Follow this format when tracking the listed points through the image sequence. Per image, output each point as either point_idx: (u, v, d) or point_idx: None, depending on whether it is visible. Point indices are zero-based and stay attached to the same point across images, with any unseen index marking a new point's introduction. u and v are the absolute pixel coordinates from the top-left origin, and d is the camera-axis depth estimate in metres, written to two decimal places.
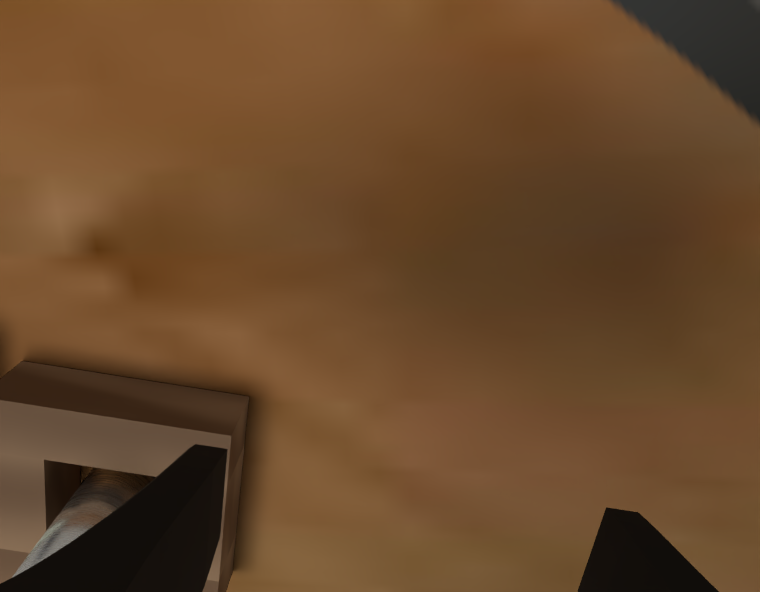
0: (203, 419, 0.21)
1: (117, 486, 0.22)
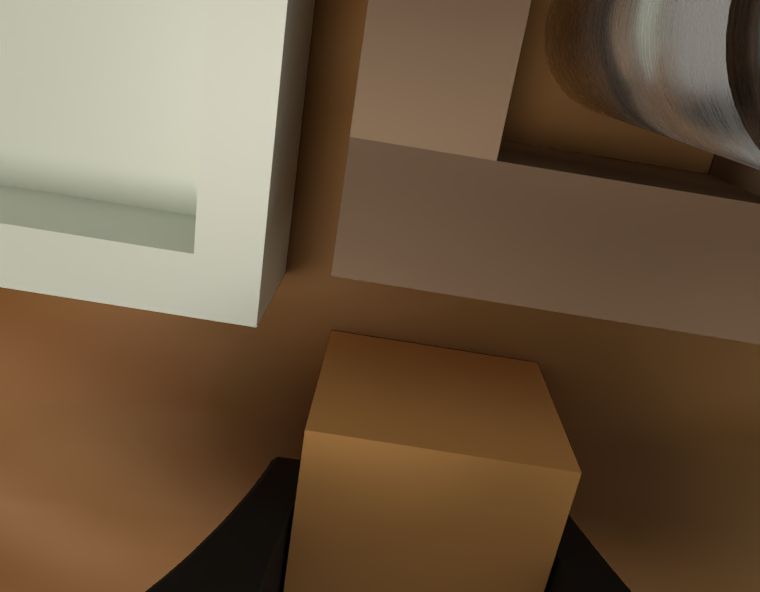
0: None
1: None
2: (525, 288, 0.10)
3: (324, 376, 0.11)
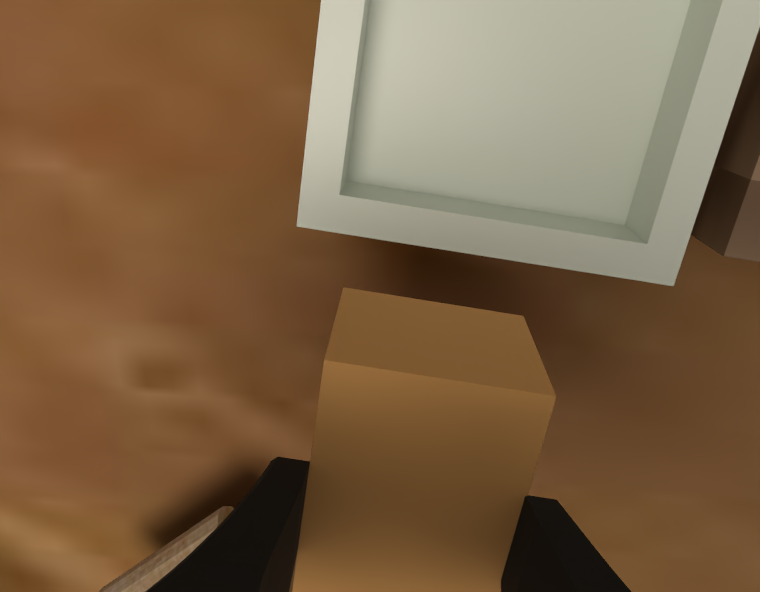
0: None
1: None
2: None
3: (338, 322, 0.13)
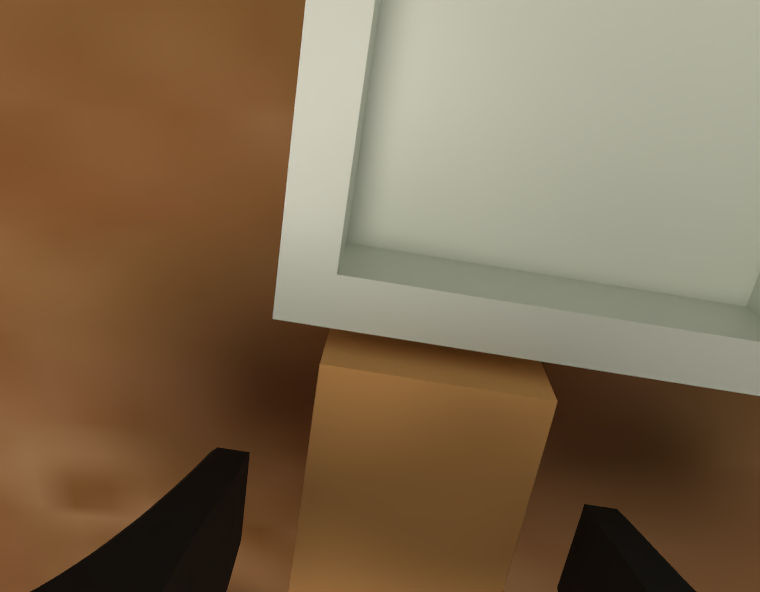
0: None
1: None
2: None
3: None
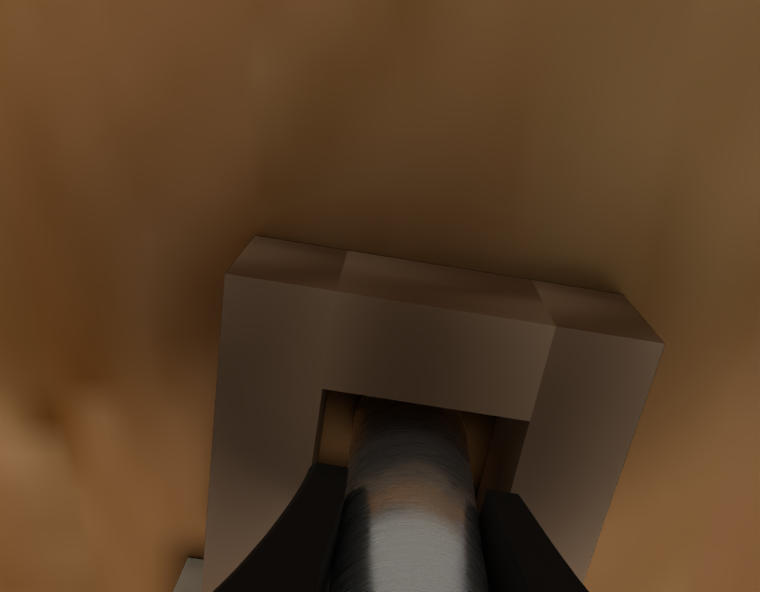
0: None
1: (349, 462, 0.13)
2: (575, 565, 0.14)
3: None
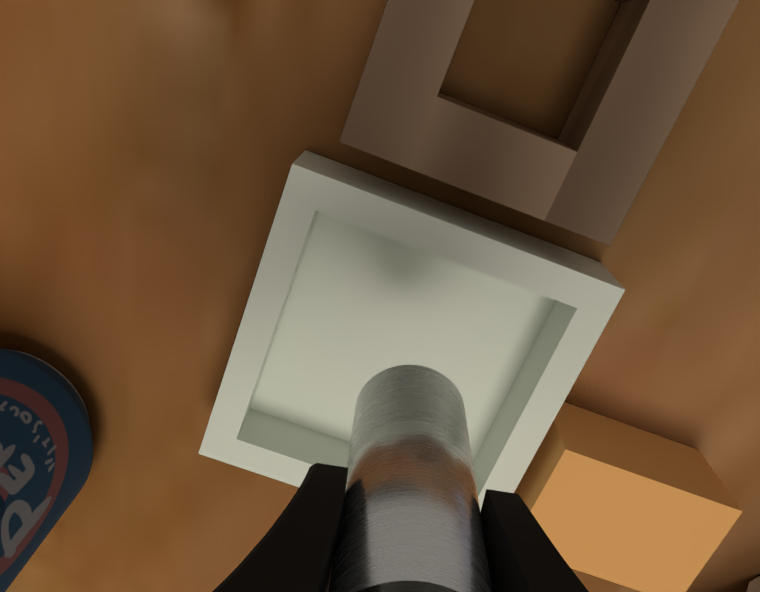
0: None
1: (351, 450, 0.13)
2: (650, 146, 0.17)
3: None
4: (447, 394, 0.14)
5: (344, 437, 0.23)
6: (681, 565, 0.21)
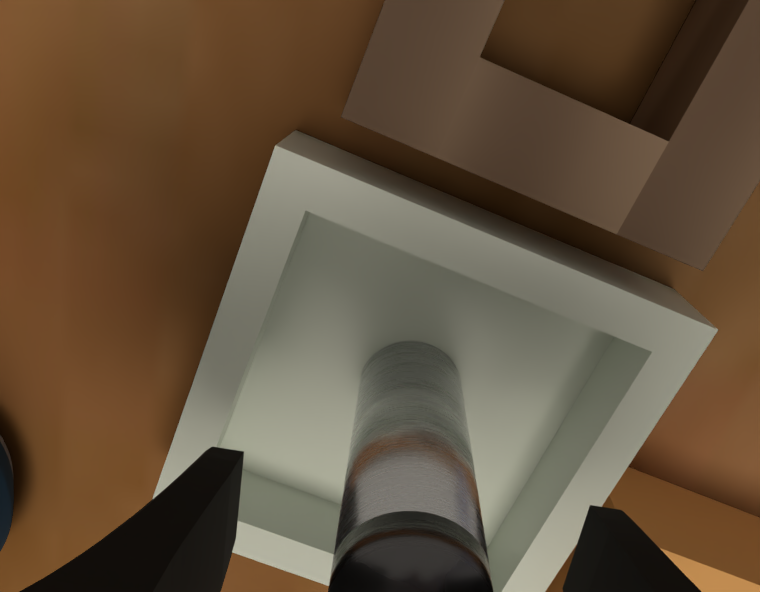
0: None
1: (357, 414, 0.15)
2: None
3: None
4: (445, 367, 0.16)
5: (334, 498, 0.18)
6: None
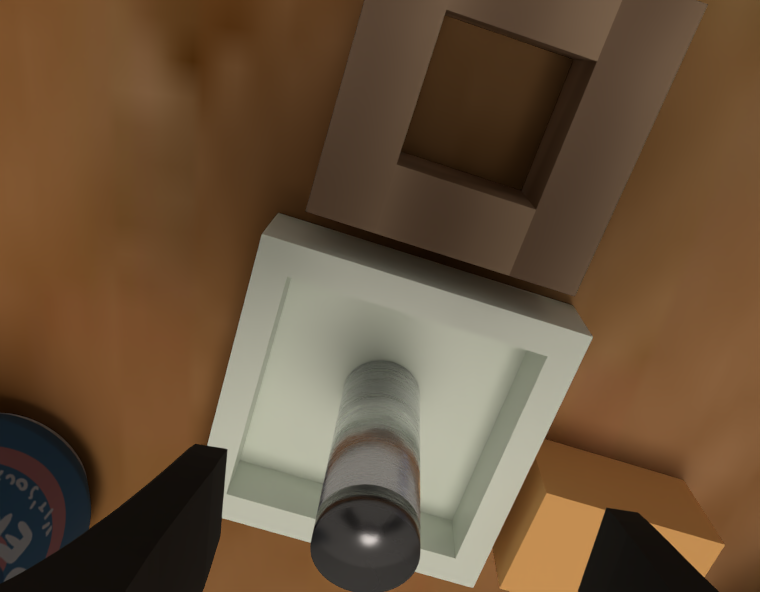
0: None
1: (337, 419, 0.20)
2: (607, 201, 0.18)
3: (494, 550, 0.23)
4: (403, 379, 0.21)
5: None
6: None
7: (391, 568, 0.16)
